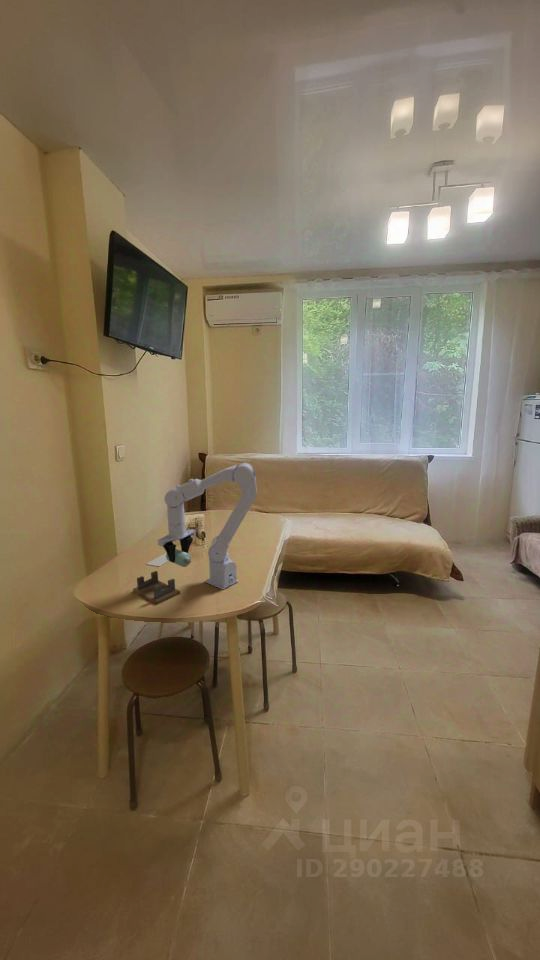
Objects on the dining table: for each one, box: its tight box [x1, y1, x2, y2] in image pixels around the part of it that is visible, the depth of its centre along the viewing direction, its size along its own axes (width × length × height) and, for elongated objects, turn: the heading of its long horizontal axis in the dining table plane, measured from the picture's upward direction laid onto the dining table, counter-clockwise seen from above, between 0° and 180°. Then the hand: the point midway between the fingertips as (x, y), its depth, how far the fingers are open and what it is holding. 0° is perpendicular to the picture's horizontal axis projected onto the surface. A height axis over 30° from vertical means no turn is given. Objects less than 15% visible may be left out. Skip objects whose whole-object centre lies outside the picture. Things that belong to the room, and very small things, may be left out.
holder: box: [132, 570, 181, 605], centre depth 122 cm, size 14×9×5 cm, turn 51°
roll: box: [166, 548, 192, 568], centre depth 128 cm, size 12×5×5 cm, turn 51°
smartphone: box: [145, 551, 169, 568], centre depth 151 cm, size 7×1×15 cm
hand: (178, 559), depth 129 cm, fingers closed on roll, 5 cm apart
